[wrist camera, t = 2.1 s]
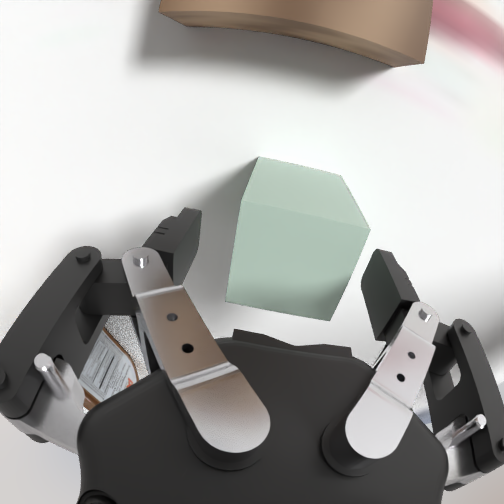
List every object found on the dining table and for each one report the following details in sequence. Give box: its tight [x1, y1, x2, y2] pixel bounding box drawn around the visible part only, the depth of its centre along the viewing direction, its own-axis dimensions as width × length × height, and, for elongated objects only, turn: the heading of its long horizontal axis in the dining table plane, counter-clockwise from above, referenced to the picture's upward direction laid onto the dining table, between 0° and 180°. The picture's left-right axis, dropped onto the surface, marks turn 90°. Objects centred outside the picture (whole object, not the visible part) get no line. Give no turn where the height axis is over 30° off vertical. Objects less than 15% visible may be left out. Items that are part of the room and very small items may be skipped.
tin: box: [79, 328, 139, 410], centre depth 24 cm, size 15×3×8 cm, turn 24°
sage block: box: [225, 157, 371, 321], centre depth 15 cm, size 5×5×7 cm
